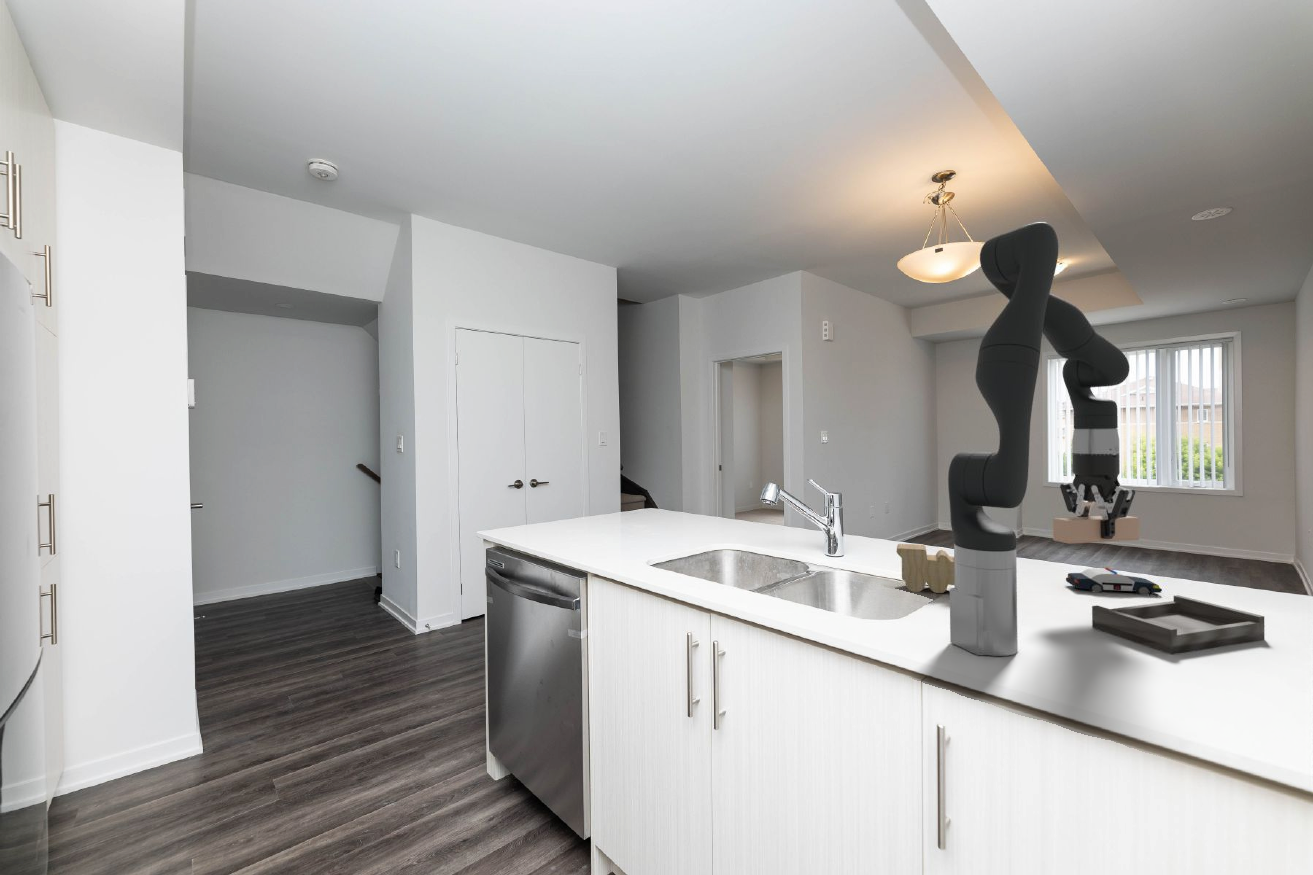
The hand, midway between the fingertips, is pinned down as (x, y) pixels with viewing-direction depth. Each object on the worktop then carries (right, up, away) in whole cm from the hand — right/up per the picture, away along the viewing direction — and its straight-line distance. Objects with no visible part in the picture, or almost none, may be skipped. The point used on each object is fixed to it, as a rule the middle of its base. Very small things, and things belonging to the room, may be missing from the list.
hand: (1096, 536), depth 114 cm
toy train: (-24, -16, +16) cm, 33 cm away
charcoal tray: (+4, -15, -13) cm, 20 cm away
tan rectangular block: (0, -1, 0) cm, 1 cm away
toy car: (+14, -15, +13) cm, 24 cm away
